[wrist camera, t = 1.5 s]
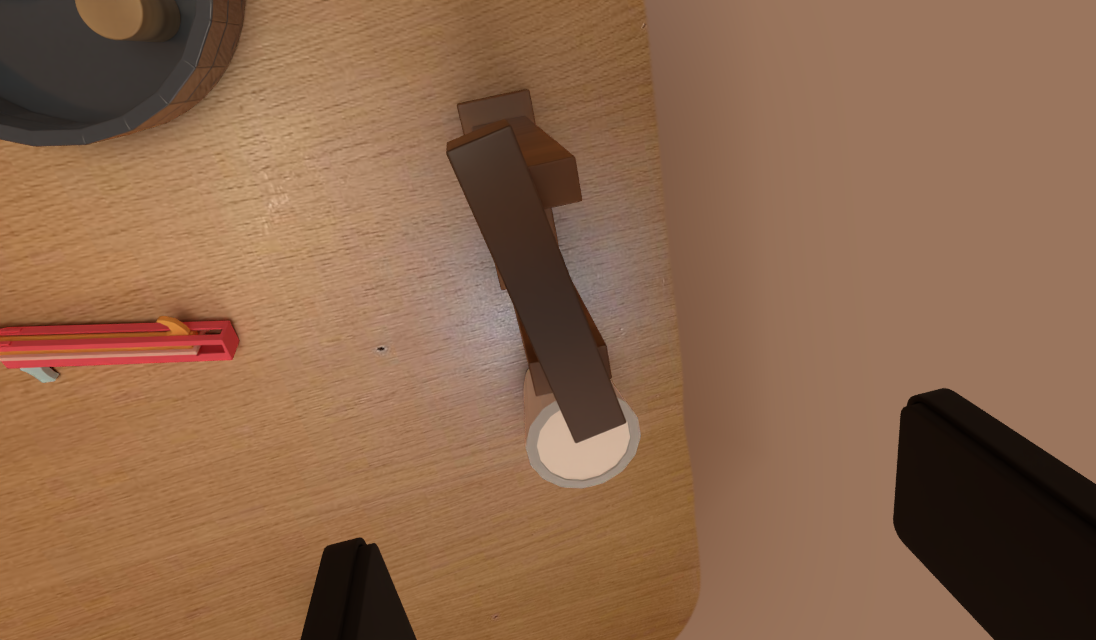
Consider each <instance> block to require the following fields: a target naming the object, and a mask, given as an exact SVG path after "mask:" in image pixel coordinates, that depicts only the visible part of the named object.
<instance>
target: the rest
mask: <svg viewBox="0 0 1096 640" xmlns="http://www.w3.org/2000/svg"><path fill="white" fill-rule="evenodd" d="M457 108H458V112H459V116H460V120H461V124H462V129H463V133H464V135H466V134H468V133H470V132H473V131H475V130H478V129H480V128H482V127H485V126H487V125H490V124H492V123H494V122H497V121H499V120H502V119H506V120H507V121H508V123H509V124H510V125H511V126H512V128H513V131H514V133H515V136H516V139H517V141H518V144H519V146H520V149H521V151H522V154H523V157H524V159H525V162H526V164H527V167H528V169H529V172H530V175H531V177H532V180H533V182H534V185H535V187H536V190H537V193H538V195H539V198H540V200H541V203H542V205H543V208H544V211H545V213H546V216H547V218H548V221H549V223H550V226H551V229H552V231H553V234H554V236H555V239H556V241H557V244H558V240H557V234H556V229H555V224H554V219H553V213H552V208H553V207H557V206H562V205H566V204H571V203H575V202H580V201H582V195H581V189H580V183H579V177H578V171H577V165H576V159H575V156H573V155H572V154H571V153H570V152H569V151H567V150H566V149H565V148H564V147H562V146H561V145H560V144H559V143H558V142H556V141H555V140H554V139H553V138H551V137H550V136H549V135H548V134H546V133H545V132H544V131H543V130H542V129H540V128H539V127H538V126H537V125H536V124H535V118H534V113H533V108H532V102H531V97H530V92H529V90H528V89H523V90H519V91H514V92H509V93H504V94H500V95H495V96H490V97H486V98H481V99H476V100H472V101H467V102H462V103H458V104H457ZM558 247H559V245H558ZM495 266H496V264H495ZM496 270H497V274H498V279H499V283H500V287H501V290H505V289H506V287H505V285H504V282H503V280H502V278H501V276H500V273H499V271H498V269H497V267H496ZM572 283H573V282H572ZM573 285H574V283H573ZM574 288H575V290H576V293H577V296H578V298H579V301H580V303H581V306H582V308H583V311H584V314H585V316H586V319H587V321H588V324H589V326H590V329H591V332H592V334H593V337H594V339H595V342H596V344H597V347H598V350H599V352H600V355H601V357H602V360H603V362H604V365H605V368H606V370H607V373H608V375H609V378H610V379H611V378H612V375H611V369H610V363H609V357H608V351H607V345H606V344H605V342H604V340H603V338H602V336H601V334H600V332H599V330H598V329H597V327H596V325H595V323H594V321H593V319H592V317H591V315H590V314H589V312H588V310H587V308H586V306H585V304H584V302H583V300H582V299H581V297H580V295H579V293H578V291H577V289H576V287H575V285H574ZM514 309H515V307H514ZM515 313H516V317H517V321H518V326H519V330H520V334H521V338H522V342H523V346H524V350H525V354H526V358H527V362H528V366H529V371H530V375H531V379H532V383H533V387H534V391H535V395H536V396H541V395H546V394H550V393H553V392H552V390H551V388H550V386H549V383H548V381H547V379H546V377H545V374H544V372H543V370H542V368H541V365H540V363H539V361H538V359H537V356H536V354H535V352H534V350H533V348H532V345H531V343H530V341H529V339H528V336H527V334H526V332H525V330H524V327H523V325H522V323H521V321H520V318H519V316H518V314H517V312H516V309H515Z"/></svg>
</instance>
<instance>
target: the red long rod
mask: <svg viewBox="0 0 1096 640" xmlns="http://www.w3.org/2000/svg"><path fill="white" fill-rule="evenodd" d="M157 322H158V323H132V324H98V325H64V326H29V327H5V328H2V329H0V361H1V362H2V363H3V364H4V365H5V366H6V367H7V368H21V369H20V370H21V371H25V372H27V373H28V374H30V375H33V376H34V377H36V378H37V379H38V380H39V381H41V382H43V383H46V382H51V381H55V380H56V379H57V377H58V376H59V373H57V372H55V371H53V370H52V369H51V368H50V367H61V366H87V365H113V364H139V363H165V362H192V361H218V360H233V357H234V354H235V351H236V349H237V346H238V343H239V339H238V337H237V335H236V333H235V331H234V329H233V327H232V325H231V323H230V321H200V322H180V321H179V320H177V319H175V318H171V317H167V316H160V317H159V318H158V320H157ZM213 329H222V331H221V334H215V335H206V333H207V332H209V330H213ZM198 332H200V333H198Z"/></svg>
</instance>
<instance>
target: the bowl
mask: <svg viewBox="0 0 1096 640" xmlns="http://www.w3.org/2000/svg"><path fill="white" fill-rule="evenodd" d="M175 2H176V4H177V6H178V8H179V12H180V27H179V29H178V31H177V33H176V34H175V35H174V36H173V37H172V38H171V39H169V40H167V41H163V42H146V41H126V40H113V39H108V38H105V37H103V36H101V35H99V34H97V33H96V32H94V31H93V30H92V29H91V28H90V27H89V26H88V25H87V24H86V23H85V22H84V21H83V19H82V18H81V16H80V14H79V12H78V10H77V7H76V3H75V0H0V140H5V141H10V142H15V143H20V144H25V145H30V146H67V145H87V144H92V143H97V142H101V141H105V140H109V139H113V138H117V137H122V136H126V135H130V134H133V133H136V132H139V131H143V130H146V129H149V128H153V127H156V126H159V125H162V124H165V123H167V122H169V121H171V120H173V119H175V118H177V117H178V116H180V115H182V114H183V113H185V112H187V111H189V110H190V109H191V108H192V107H194V106H195V105H196V104H197V103H199V102H200V101H201V100H202V99H203V98H205V96H206V95H207V94H208V93H209V92H210V91H211V90H212V89H213V87H214V86H215V85H216V84H217V83H218V81H219V80H220V78H221V77H222V75H223V73H224V72H225V70H226V69H227V67H228V66H229V63H230V61H231V59H232V56H233V54H234V52H235V50H236V47H237V44H238V40H239V37H240V33H241V29H242V25H243V18H244V10H245V0H175Z"/></svg>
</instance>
